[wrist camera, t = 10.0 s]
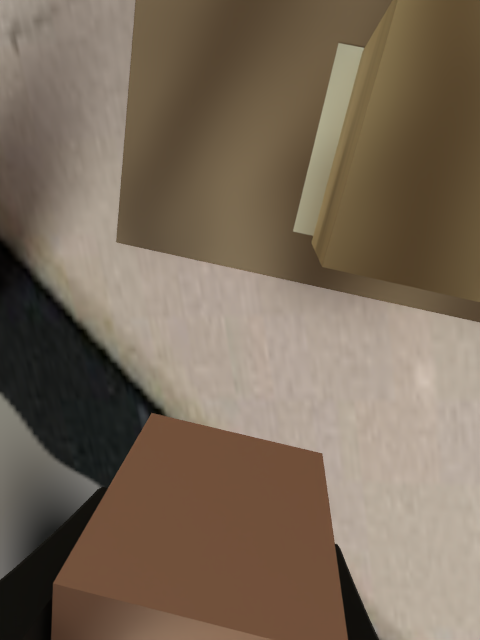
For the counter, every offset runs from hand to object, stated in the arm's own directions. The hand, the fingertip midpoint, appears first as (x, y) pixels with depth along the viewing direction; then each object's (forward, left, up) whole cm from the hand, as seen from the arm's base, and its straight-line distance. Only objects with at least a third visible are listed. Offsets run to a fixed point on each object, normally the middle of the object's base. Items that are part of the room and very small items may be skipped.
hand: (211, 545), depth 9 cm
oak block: (-4, -10, -10) cm, 14 cm away
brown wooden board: (-3, -10, -10) cm, 15 cm away
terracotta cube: (0, 0, -1) cm, 1 cm away
